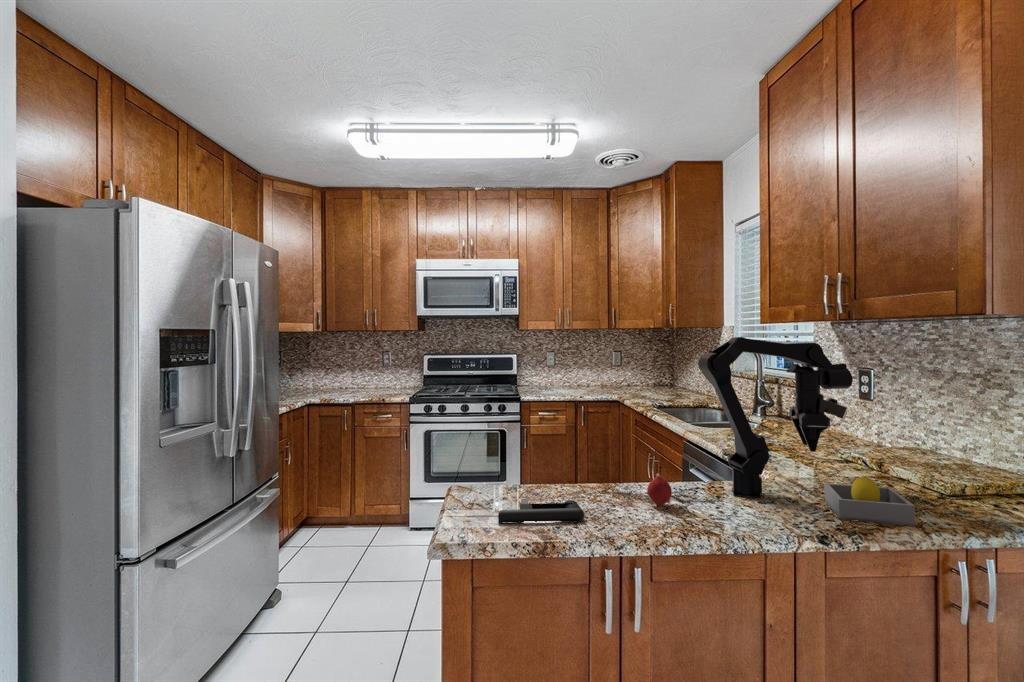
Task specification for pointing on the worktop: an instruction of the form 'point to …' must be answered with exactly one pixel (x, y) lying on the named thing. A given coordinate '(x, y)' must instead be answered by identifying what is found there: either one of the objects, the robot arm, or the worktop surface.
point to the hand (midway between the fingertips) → (809, 447)
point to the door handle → (543, 512)
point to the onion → (659, 490)
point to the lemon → (865, 490)
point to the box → (870, 506)
